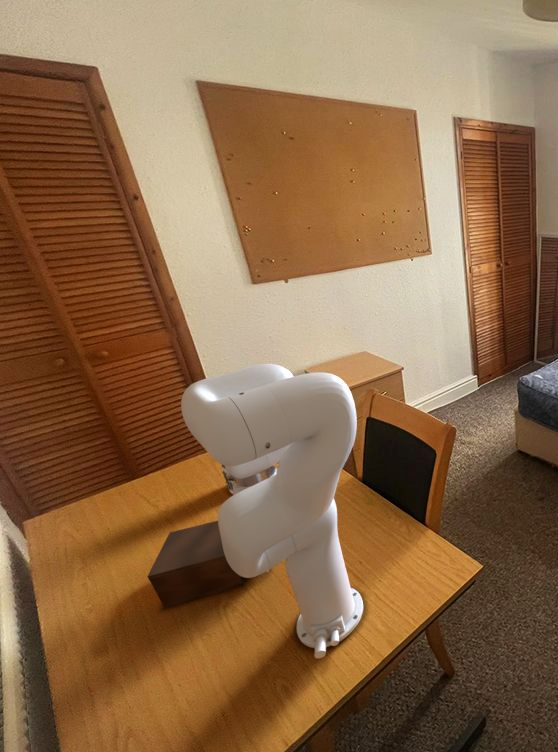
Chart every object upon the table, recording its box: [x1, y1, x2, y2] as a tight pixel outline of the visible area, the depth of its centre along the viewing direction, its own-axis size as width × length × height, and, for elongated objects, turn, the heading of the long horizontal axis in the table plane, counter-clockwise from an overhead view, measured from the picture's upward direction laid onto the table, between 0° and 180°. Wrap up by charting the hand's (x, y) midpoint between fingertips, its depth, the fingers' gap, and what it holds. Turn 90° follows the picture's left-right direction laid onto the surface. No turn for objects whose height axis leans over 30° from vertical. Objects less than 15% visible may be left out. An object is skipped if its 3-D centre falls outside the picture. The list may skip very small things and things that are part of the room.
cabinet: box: [147, 520, 245, 609], centre depth 91 cm, size 15×13×10 cm
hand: (275, 534), depth 96 cm, fingers closed
